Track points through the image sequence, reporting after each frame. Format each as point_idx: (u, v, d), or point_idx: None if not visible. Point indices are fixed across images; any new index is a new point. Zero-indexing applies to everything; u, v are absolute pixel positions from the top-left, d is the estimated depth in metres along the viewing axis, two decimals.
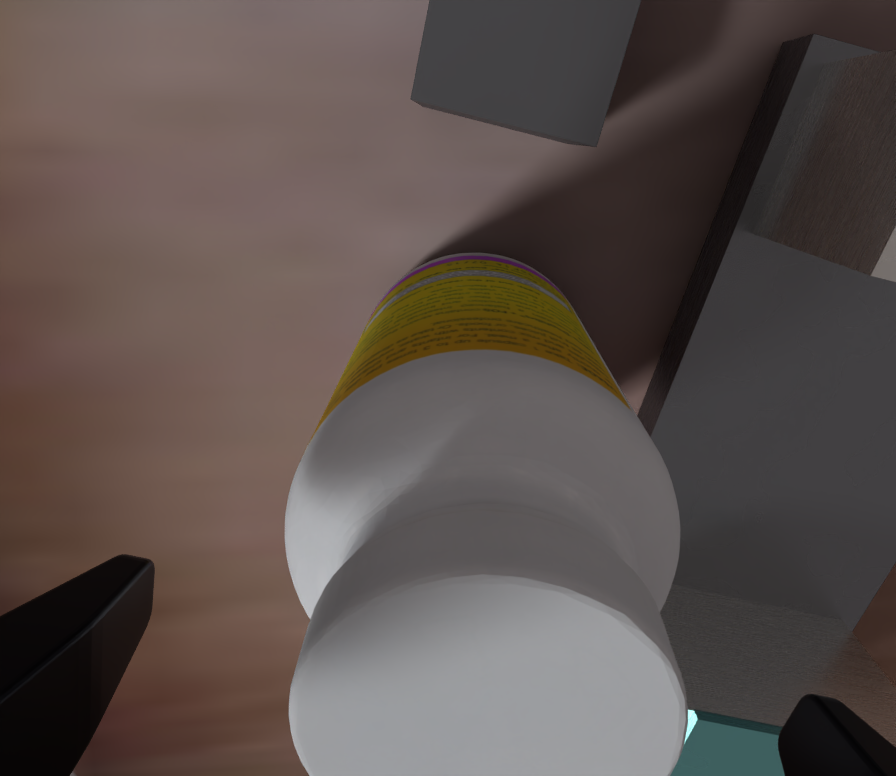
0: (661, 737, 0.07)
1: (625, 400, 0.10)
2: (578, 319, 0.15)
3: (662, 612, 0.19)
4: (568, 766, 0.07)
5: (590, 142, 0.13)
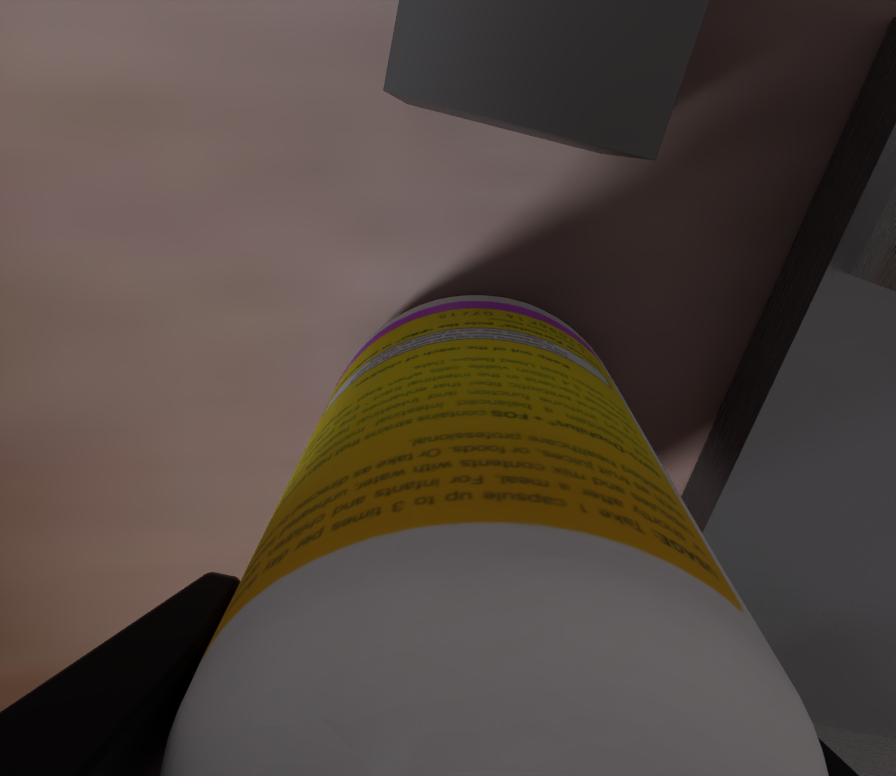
0: None
1: (727, 583, 0.06)
2: (619, 394, 0.11)
3: None
4: None
5: (647, 153, 0.09)
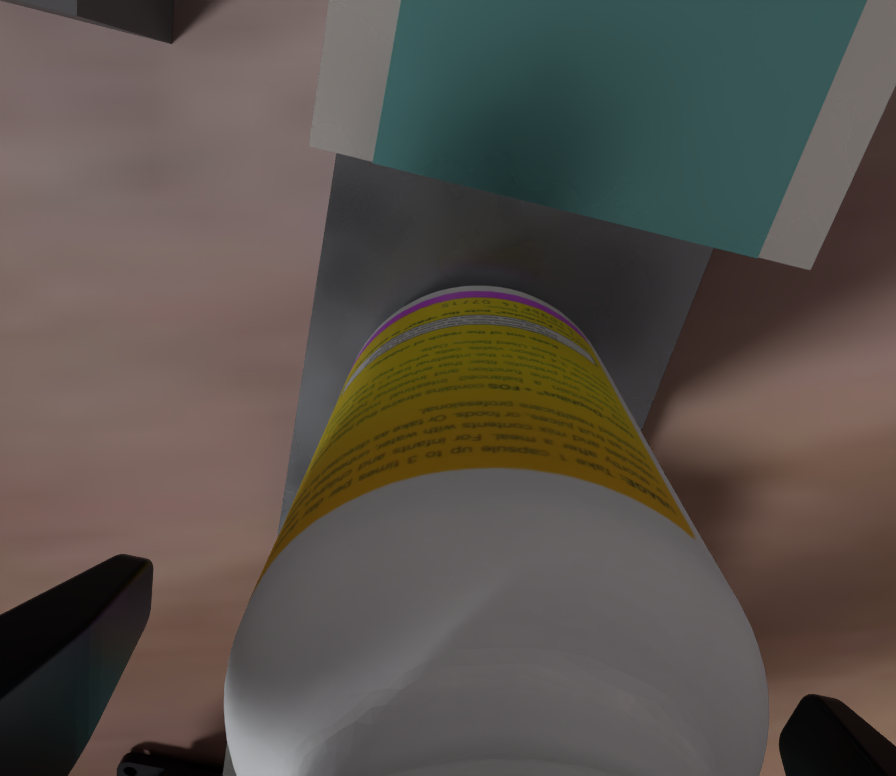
0: None
1: (685, 518, 0.08)
2: (604, 371, 0.12)
3: None
4: None
5: (67, 9, 0.11)
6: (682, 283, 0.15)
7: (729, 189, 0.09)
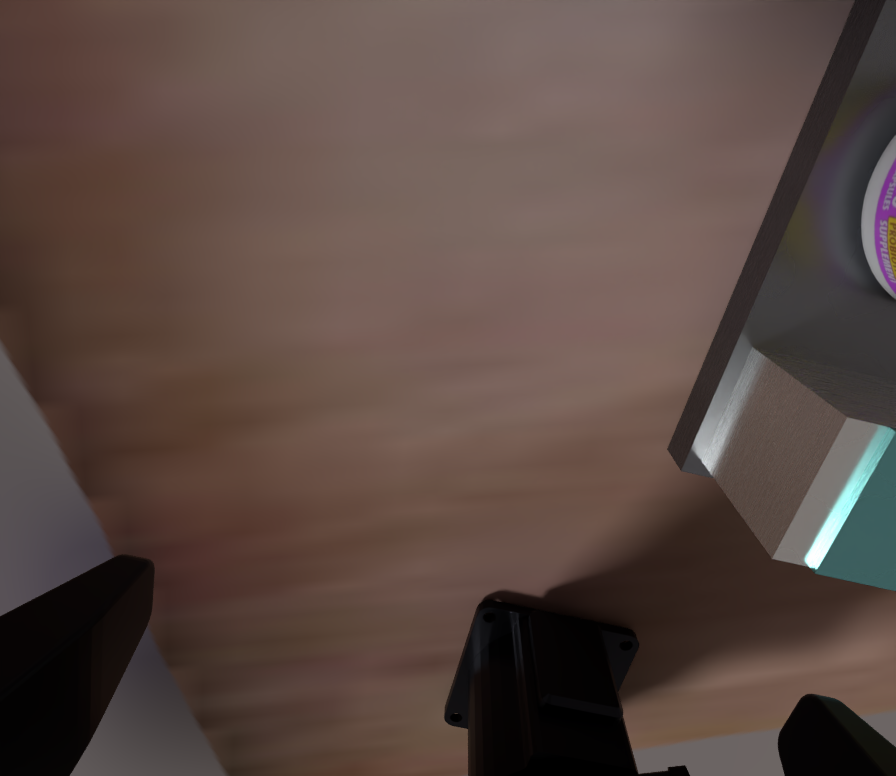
0: None
1: None
2: None
3: (817, 374, 0.17)
4: None
5: None
6: None
7: None
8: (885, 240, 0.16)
